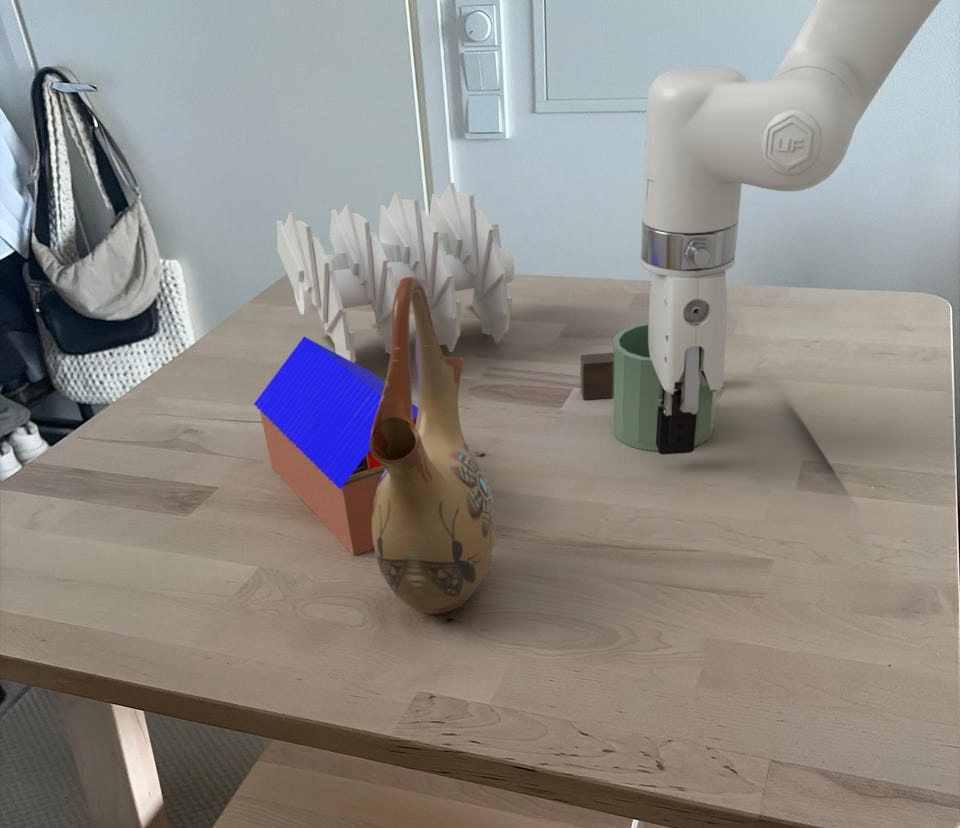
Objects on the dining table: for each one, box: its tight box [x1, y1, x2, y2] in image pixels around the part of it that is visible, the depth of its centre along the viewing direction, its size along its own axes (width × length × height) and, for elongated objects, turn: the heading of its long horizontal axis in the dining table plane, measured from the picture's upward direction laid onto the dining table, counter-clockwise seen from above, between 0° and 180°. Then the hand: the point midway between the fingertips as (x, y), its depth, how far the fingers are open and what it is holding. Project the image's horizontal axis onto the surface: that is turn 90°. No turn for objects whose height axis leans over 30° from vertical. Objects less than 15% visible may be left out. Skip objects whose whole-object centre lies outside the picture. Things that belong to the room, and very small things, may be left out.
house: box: [253, 336, 469, 556], centre depth 92 cm, size 12×20×12 cm, turn 30°
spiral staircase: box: [276, 182, 515, 364], centre depth 115 cm, size 18×18×25 cm
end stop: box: [580, 352, 613, 401], centre depth 107 cm, size 14×2×4 cm, turn 92°
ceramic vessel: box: [369, 277, 496, 615], centre depth 74 cm, size 16×9×25 cm, turn 169°
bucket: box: [610, 321, 717, 452], centre depth 99 cm, size 10×10×9 cm
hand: (674, 449), depth 94 cm, fingers closed
